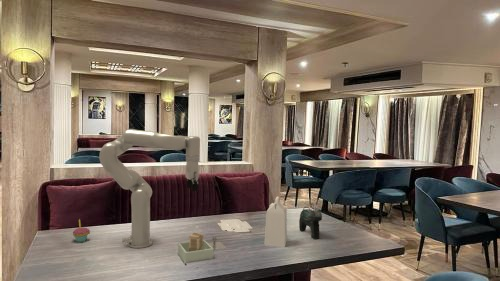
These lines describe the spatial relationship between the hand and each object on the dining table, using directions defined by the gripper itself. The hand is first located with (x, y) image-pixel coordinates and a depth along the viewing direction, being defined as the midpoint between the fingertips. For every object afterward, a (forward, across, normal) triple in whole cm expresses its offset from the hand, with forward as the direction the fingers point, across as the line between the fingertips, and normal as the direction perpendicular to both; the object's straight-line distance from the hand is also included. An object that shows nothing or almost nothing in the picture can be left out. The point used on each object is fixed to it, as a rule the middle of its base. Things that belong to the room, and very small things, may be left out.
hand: (192, 189), depth 186 cm
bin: (+30, +21, -4) cm, 37 cm away
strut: (+30, +21, -4) cm, 37 cm away
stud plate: (+30, +13, +9) cm, 34 cm away
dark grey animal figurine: (+31, +13, +71) cm, 78 cm away
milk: (+31, +17, +45) cm, 57 cm away
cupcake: (+31, -26, -55) cm, 68 cm away
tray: (+31, -20, +35) cm, 51 cm away
